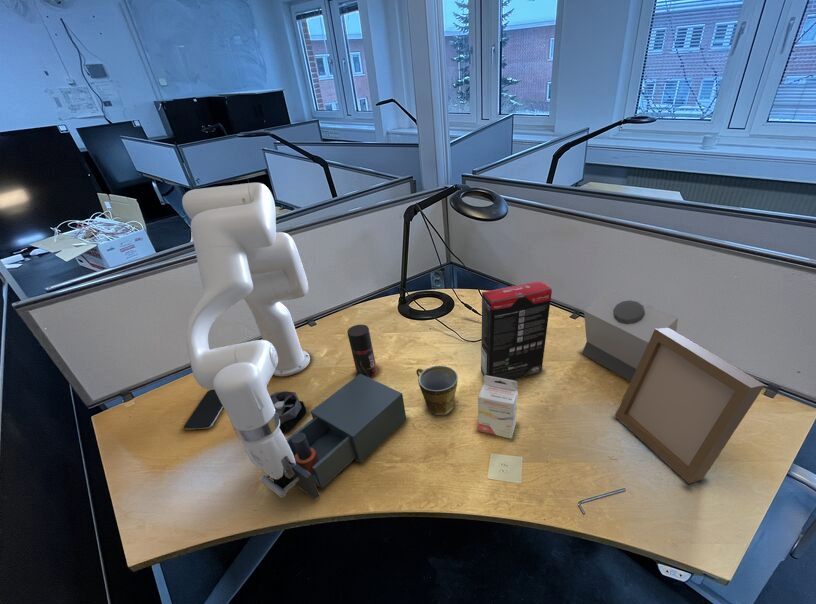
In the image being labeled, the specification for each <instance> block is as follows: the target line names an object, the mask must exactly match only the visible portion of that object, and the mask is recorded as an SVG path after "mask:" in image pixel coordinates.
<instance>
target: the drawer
mask: <svg viewBox="0 0 816 604" xmlns="http://www.w3.org/2000/svg"><path fill="white" fill-rule="evenodd" d="M298 433H303V434H305V436H306V439H307V441H308V444H309V447H311V448H313V449H314V450H315V452H316V454H317V457H318V460H319V462H318V463H316V464H315V465H314V466H313V467H312V468H313V470H314V473H315V474H314V475H311V474H310V473H309V472H307V471H306V470H305V469H303V468H302V467H300V466H299V465H297V463H295V466H292V465H291V464H290V463H289V465H290V466H291V468H292V470H293V472H294V473H295V475H294V476H293V477H292V478H293V481H292V482H291V483H290V484H289V485H288V486H286V487H285V488H284V489H282V488H281V487H280V486H278V485H277V484H276V483H275V482H274V481H273V479H272V478H271V477H270V476H269V475H268V474H266V475H262V476H261V477H260V478H259V480H260V482H261V483H262V484H264V485H265V486H266V487H267V488H268V489H270V490H271V491H272V492H274V493H275V494H276V495H277V496H279V497H280V498H285V496H286V495H287V492H288V491H289V490H291V489H292V488H293V487H294V486H296V487H297V488H299V489H300V490H301V491H303V492H304V493H306V494H307V495H308V496H310V497H311V498H312V499H314V500H317V499H318V498H319V497H320V492H319V490H318V488H317V487H319V488H320V489H324V488H325V487H326V486H327V485H328V484H329V483H330V482H331V481H333V479H334V478H336V477H337V476H338V475H339V474H340V473H341V472H342V471H343V470H344V469H346V467H348V465H349V464H351V463H352V462H353V461H354V459H355V458H356V457H357V456H356V452H355V449H354V445H353V442H352V438H351V437H349V436H348V435H346V434H344V433H343V432H341V431H339V430H338V429H336V428H334V427H332V426H331V425H329V424H327V423H326V422H324V421H322V420H321V419H319V418H317V417H314V418H312V419H310V420H309V421H308V422H306V423H305V424H304V425H303V426H302V427H300V428H298V429H297V430H296V431H295V432H294V433H292V434H291V435H289V437H287V438H285V439H286V441H287V443H288V445H289V447H290V449H291V451H292V453H293V455H294V458H295V455H296V453H297V452H296V450H295V447H294V445H293V442H292V437H293V436H294V435H295V434H298ZM295 462H296V460H295Z"/></svg>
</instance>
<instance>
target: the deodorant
mask: <svg viewBox="0 0 816 604" xmlns="http://www.w3.org/2000/svg"><path fill="white" fill-rule="evenodd" d="M346 334H347V338H348V341H349V347H350V350H351V354H352V359H353V363H354V367H355V371H356V376H358V375H359V374H362V375H364V376H367V377H369V378H372V377H374V376H375V375H377V373H378V369H377V364H376V358H375V354H374V348H373V343H372V338H371V333H370V328H369V326H368V325H366V324H355V325H352V326H350V327H348V329H347V333H346Z"/></svg>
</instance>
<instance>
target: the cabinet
mask: <svg viewBox="0 0 816 604" xmlns="http://www.w3.org/2000/svg"><path fill="white" fill-rule="evenodd" d="M310 415H311V418H312V419H313V418H314V417H317V418H319V419H321V420H322V421H324V422H326V423H327V424H329V425H331V426H332V427H334V428H336V429H338V430H339V431H341V432H343V433H344V434H346V435H348V436H349V437H351V438H352V442H353V445H354V449H355V452H356V456H357V457H356V458H355V459H354V460H355V461H356V462H357V463H359V464H361V463H363V462H364V461H365V460H366V459H367V458H368V457H369V456H370V455H371V454H372V453H373V452H374V451H376V449H377V448H378V447H380V446H381V445H382V444H383V443H384V442H385V441H386V440H387V438H389V437H390V436H391V435H392V434H393V433H394V432H395V431H397V429H398V428H400V426H401V425H402V424H404V422H405V421H407V413H406V408H405V402H404V396H403V392H400V391H398V390H397V389H395V388H392V387H389V386H387V385H386V384H383V383H381V382H379V381H377V380H375V379H372V377H370V378H369V377H367V376H364V375H362V374H359V375H356V376H355V377H353V379H351V380H350V381H349V382H347V383H346V384H345V385H343V386H341V387H340V388H339V389H337V390H336V391H335V392H334V393H333V394H331V395H330V396H329V397H327V398H326V399H324V400H323V401H322V402H321V403H319V404H318V405H316V407H314V408H313V409H312V410H310ZM354 460H353V461H354Z"/></svg>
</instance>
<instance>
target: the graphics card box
mask: <svg viewBox="0 0 816 604" xmlns="http://www.w3.org/2000/svg"><path fill="white" fill-rule="evenodd" d="M552 293H553V291H552V288H551V287H550V286H549V285H548V284H547V283H546V282H544V281H542V280H537V281H532V282H531V281H530V282H527V283H522V284H517V285H511V286H507V287H501V288H496V289H492V290H491V289H490V290H486V291H482V292H481V342H480V343H481V344H480V345H481V347H480V373H481V375H482V376H483V377H484V375H487V376H492V377H498V378H503V379H508V380H514V379H519V378H522V377H527V376H532V375H535V374H538V373H541V372H542V371H543V365H544V355H545V346H546V339H547V332H548V323H549V315H550V308H551V300H552ZM494 382H496V383H503V382H502V381H494Z"/></svg>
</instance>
